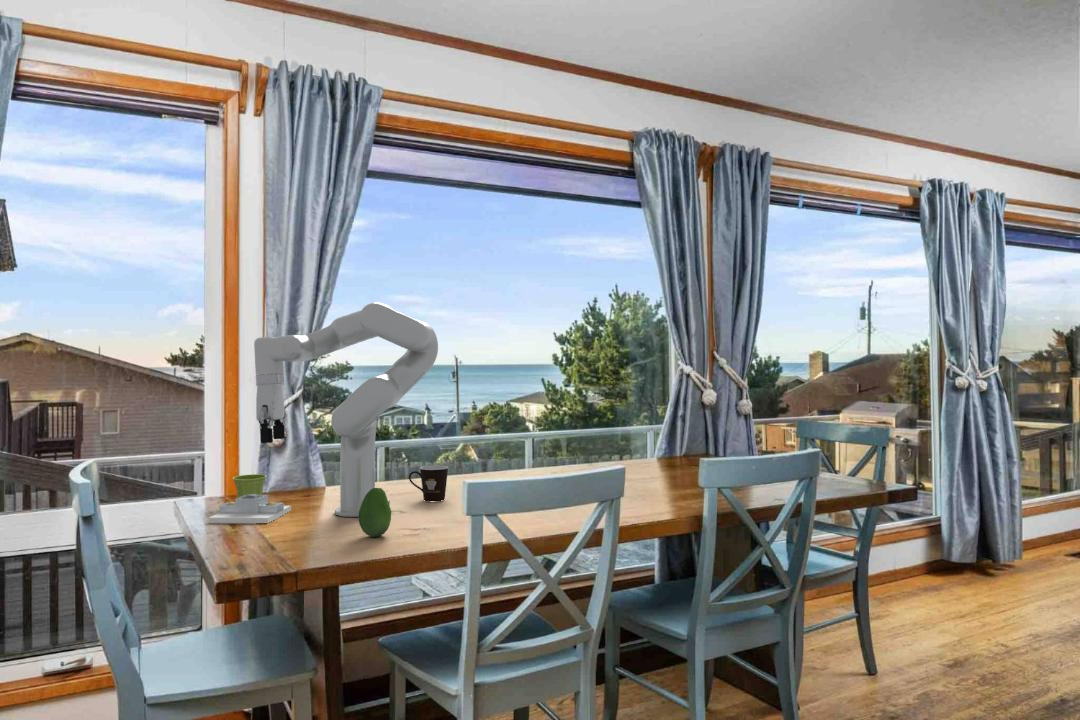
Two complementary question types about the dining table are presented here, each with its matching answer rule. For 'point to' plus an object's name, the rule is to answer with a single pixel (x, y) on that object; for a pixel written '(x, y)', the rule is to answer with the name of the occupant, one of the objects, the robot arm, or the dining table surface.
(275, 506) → the bracket
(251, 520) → the post block
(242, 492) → the plant pot
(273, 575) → the dining table surface
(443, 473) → the coffee mug
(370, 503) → the avocado
